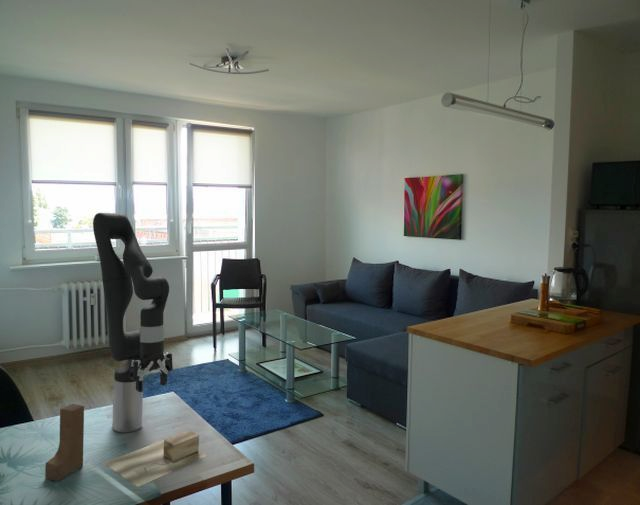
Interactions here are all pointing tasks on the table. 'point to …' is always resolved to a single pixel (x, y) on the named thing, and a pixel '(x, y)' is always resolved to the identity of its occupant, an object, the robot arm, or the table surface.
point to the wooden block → (68, 444)
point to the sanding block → (181, 446)
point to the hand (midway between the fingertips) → (151, 388)
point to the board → (147, 464)
